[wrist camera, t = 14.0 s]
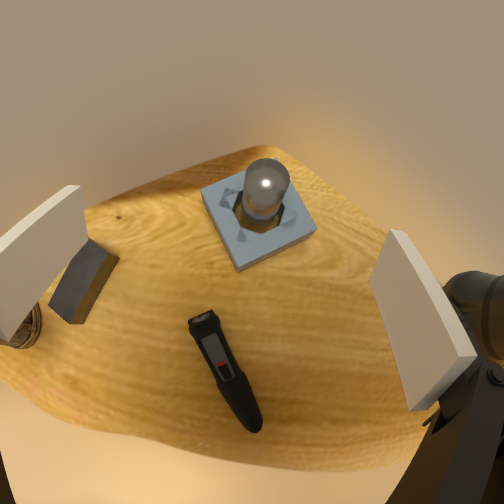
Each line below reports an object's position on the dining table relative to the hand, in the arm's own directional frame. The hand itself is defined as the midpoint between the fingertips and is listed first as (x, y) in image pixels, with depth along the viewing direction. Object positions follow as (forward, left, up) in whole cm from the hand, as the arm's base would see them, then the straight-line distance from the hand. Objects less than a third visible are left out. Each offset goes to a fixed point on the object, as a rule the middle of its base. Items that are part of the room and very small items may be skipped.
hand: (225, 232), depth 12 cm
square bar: (+8, +16, -25) cm, 31 cm away
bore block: (+6, -7, -25) cm, 26 cm away
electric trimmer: (-9, +4, -25) cm, 27 cm away
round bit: (+6, -7, -25) cm, 26 cm away
